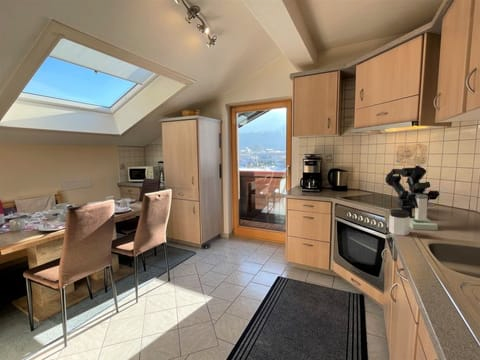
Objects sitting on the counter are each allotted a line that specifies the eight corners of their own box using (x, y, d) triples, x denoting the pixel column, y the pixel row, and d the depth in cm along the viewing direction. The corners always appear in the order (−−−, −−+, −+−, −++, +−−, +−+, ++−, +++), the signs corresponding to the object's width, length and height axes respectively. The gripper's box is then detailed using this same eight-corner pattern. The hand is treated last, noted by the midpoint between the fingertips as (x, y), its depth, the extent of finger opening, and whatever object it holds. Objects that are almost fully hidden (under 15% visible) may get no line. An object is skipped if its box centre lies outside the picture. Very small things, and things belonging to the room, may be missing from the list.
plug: (414, 218, 139) (415, 194, 137) (423, 218, 137) (424, 194, 136) (417, 220, 135) (418, 196, 133) (426, 220, 133) (427, 196, 132)
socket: (404, 222, 143) (405, 218, 143) (427, 223, 140) (427, 218, 140) (412, 229, 133) (413, 224, 132) (437, 230, 130) (437, 224, 129)
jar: (401, 236, 123) (402, 214, 122) (386, 232, 131) (386, 210, 129) (412, 233, 127) (412, 211, 126) (396, 229, 134) (396, 208, 133)
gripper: (400, 177, 139) (407, 200, 130) (438, 176, 134) (448, 200, 125) (395, 188, 148) (401, 210, 139) (431, 187, 143) (439, 210, 134)
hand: (422, 207), depth 134 cm, fingers closed on plug, 4 cm apart
